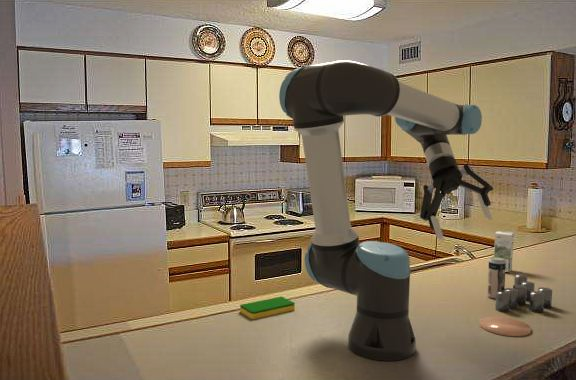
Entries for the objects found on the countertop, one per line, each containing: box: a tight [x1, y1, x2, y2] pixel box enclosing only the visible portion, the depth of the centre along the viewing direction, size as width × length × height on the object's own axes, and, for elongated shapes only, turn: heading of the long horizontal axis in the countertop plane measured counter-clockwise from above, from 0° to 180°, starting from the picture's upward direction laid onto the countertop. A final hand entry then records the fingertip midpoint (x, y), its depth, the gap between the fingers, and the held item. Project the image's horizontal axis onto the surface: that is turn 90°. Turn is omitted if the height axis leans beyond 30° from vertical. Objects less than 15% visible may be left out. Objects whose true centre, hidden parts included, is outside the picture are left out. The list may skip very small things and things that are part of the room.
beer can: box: [486, 256, 506, 300], centre depth 147 cm, size 5×5×12 cm
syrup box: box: [493, 230, 515, 273], centre depth 179 cm, size 6×6×14 cm
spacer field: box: [495, 273, 553, 314], centre depth 143 cm, size 15×26×5 cm, turn 131°
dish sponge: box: [239, 296, 296, 320], centre depth 135 cm, size 7×14×2 cm, turn 124°
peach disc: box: [479, 316, 532, 337], centre depth 124 cm, size 12×12×1 cm
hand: (464, 228), depth 125 cm, fingers open, 13 cm apart
